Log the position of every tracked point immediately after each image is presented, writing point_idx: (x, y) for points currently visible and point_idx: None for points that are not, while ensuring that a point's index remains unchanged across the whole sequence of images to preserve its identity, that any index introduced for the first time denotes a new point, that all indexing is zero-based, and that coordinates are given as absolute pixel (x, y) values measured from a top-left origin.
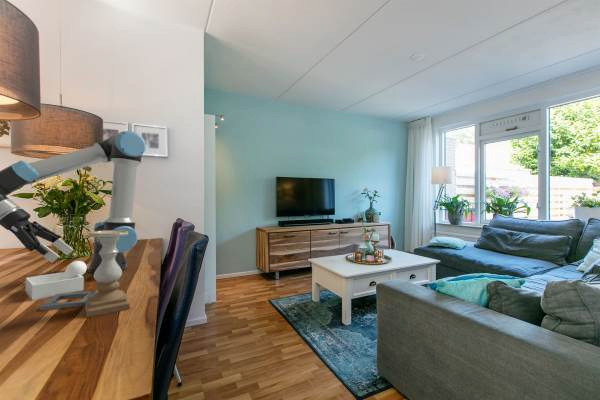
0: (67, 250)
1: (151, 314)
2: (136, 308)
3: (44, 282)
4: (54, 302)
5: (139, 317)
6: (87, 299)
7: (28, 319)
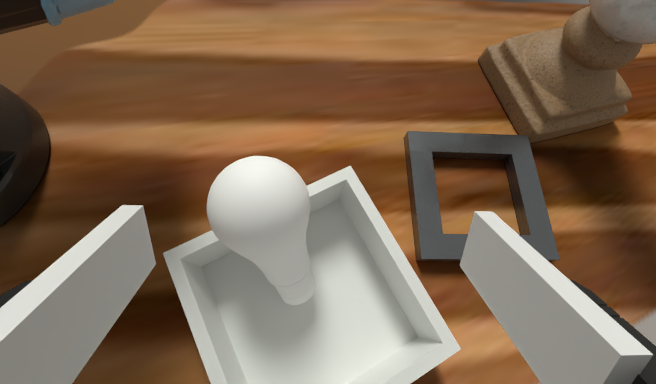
0: (135, 252)
1: None
2: None
3: (237, 376)
4: None
5: None
6: (505, 137)
7: (617, 263)
